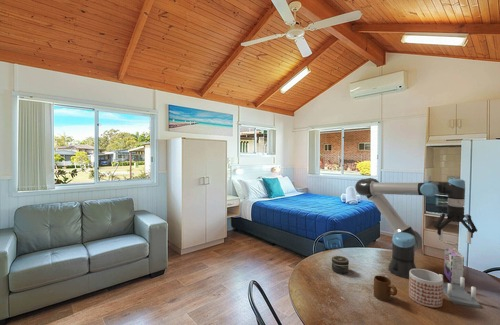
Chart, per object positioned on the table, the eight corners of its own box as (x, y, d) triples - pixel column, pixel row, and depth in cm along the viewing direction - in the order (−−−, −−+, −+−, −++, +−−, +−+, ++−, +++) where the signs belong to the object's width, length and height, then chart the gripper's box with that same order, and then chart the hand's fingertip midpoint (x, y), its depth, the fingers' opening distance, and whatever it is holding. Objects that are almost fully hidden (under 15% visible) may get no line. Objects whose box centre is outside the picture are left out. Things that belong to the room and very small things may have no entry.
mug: (402, 305, 117) (402, 285, 117) (390, 308, 115) (390, 288, 114) (381, 291, 128) (381, 274, 128) (370, 294, 126) (370, 276, 126)
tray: (452, 303, 119) (452, 289, 119) (434, 282, 138) (434, 270, 138) (481, 308, 115) (482, 293, 115) (459, 286, 135) (459, 273, 134)
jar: (351, 272, 150) (352, 259, 150) (342, 276, 144) (342, 263, 144) (338, 265, 158) (338, 254, 158) (328, 269, 153) (328, 257, 152)
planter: (402, 291, 129) (403, 268, 128) (429, 292, 128) (430, 268, 128) (420, 307, 115) (421, 281, 115) (449, 308, 115) (450, 282, 114)
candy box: (443, 272, 150) (444, 246, 149) (455, 275, 147) (456, 248, 147) (450, 283, 138) (451, 254, 137) (463, 286, 135) (464, 256, 134)
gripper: (433, 205, 141) (432, 241, 142) (486, 208, 134) (484, 246, 135) (428, 203, 148) (426, 237, 149) (478, 205, 141) (476, 241, 142)
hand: (454, 241), depth 142 cm, fingers open, 13 cm apart
